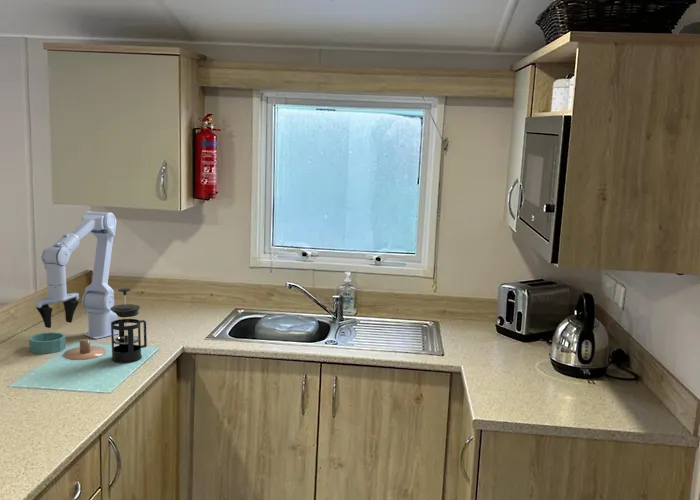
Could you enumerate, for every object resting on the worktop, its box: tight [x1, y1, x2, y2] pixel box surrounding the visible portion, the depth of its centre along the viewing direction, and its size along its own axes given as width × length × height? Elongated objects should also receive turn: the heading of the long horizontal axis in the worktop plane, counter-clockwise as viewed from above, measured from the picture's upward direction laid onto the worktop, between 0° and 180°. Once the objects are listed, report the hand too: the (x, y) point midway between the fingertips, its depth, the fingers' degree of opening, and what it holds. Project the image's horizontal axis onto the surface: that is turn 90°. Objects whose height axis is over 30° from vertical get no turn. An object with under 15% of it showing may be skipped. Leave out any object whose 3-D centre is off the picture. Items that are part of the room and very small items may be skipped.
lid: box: [63, 338, 107, 361], centre depth 228 cm, size 13×13×5 cm
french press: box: [110, 287, 148, 364], centre depth 223 cm, size 12×9×23 cm
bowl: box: [28, 331, 66, 355], centre depth 232 cm, size 11×11×4 cm
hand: (58, 324), depth 227 cm, fingers open, 7 cm apart
